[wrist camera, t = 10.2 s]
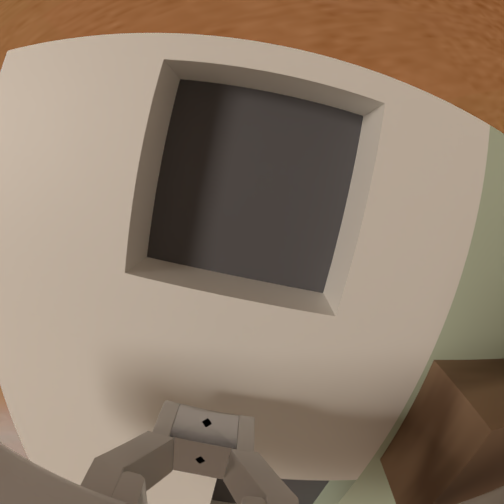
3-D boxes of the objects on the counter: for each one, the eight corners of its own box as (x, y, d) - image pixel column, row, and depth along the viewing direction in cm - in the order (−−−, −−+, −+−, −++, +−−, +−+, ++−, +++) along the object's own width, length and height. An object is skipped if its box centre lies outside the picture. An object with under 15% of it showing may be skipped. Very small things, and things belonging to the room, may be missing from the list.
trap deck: (38, 63, 10) (-22, 39, 6) (545, 184, 11) (602, 193, 6) (47, 448, 16) (22, 486, 11) (391, 504, 16) (404, 545, 12)
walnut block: (433, 359, 10) (491, 430, 6) (516, 357, 10) (568, 403, 6) (380, 459, 11) (404, 529, 7) (465, 445, 12) (497, 497, 7)
